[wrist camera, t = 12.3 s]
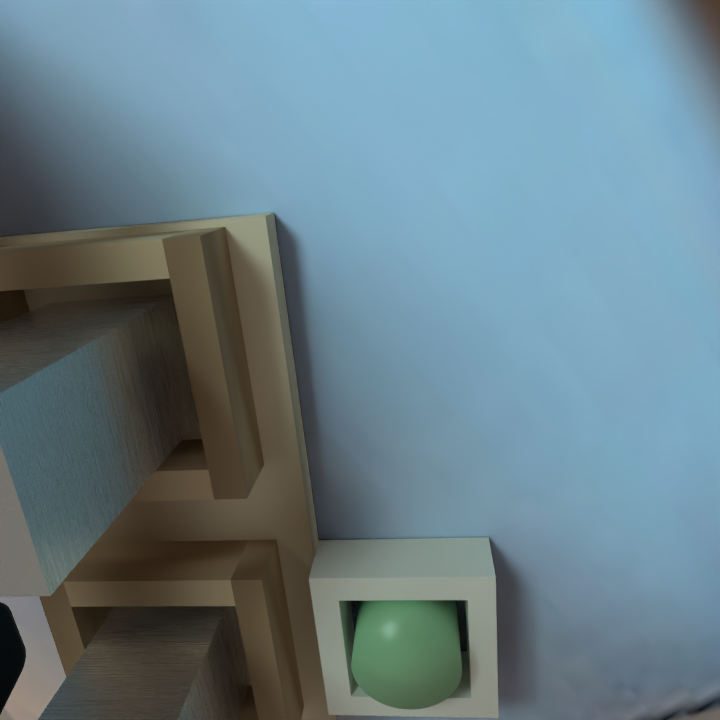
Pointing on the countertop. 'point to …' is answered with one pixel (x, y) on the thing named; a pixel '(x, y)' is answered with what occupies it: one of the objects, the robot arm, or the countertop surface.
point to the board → (200, 448)
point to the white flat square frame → (406, 582)
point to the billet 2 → (158, 667)
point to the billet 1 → (82, 426)
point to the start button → (407, 651)
